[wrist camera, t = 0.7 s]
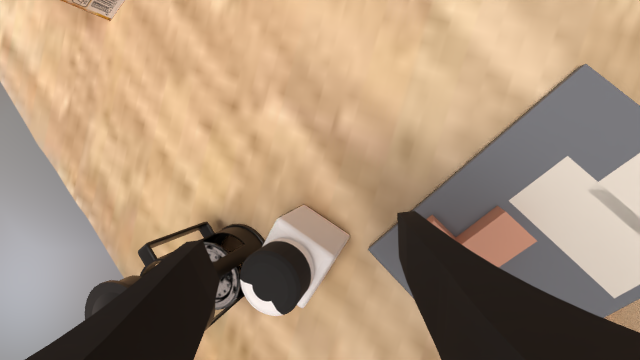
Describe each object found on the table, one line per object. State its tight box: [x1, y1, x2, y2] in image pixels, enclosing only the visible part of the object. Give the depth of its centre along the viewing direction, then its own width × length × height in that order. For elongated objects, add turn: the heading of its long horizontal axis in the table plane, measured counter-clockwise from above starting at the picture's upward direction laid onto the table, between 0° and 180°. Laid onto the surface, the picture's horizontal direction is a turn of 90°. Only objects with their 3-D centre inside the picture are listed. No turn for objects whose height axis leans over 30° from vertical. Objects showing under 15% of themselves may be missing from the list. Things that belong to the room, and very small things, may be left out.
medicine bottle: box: [240, 205, 350, 316], centre depth 29 cm, size 7×7×12 cm
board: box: [368, 64, 640, 318], centre depth 26 cm, size 18×26×1 cm
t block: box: [427, 206, 537, 267], centre depth 26 cm, size 10×9×2 cm
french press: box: [85, 222, 265, 330], centre depth 27 cm, size 12×9×23 cm
